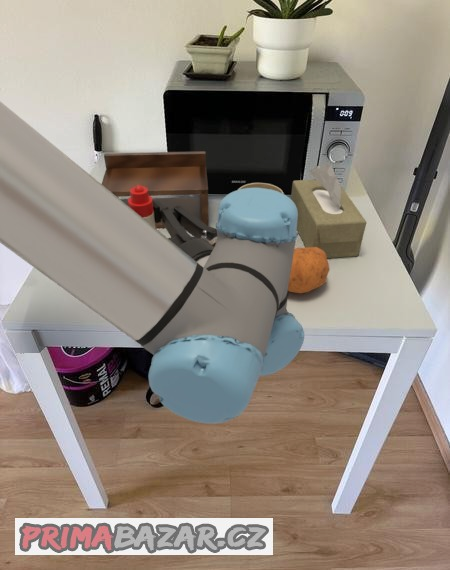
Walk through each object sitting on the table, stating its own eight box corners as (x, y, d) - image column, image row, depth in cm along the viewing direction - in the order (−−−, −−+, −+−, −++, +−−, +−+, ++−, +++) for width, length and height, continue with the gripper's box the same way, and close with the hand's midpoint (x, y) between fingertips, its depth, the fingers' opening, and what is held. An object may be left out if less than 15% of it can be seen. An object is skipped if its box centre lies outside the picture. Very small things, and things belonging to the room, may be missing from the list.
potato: (330, 303, 77) (337, 269, 73) (266, 301, 78) (269, 267, 73) (322, 270, 84) (328, 238, 80) (263, 269, 85) (266, 236, 80)
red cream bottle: (133, 256, 70) (124, 192, 63) (135, 243, 73) (126, 180, 66) (157, 255, 70) (150, 191, 63) (158, 242, 73) (152, 179, 66)
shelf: (106, 229, 95) (96, 178, 87) (112, 202, 104) (104, 153, 96) (208, 226, 96) (207, 175, 88) (206, 199, 105) (205, 151, 98)
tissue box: (288, 212, 101) (296, 145, 91) (329, 209, 102) (341, 143, 92) (311, 260, 87) (323, 187, 77) (359, 257, 88) (377, 184, 78)
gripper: (147, 324, 55) (81, 236, 70) (255, 278, 62) (174, 207, 77) (141, 277, 50) (71, 193, 65) (258, 233, 57) (171, 167, 72)
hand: (127, 201), depth 71 cm, fingers closed on red cream bottle, 4 cm apart
